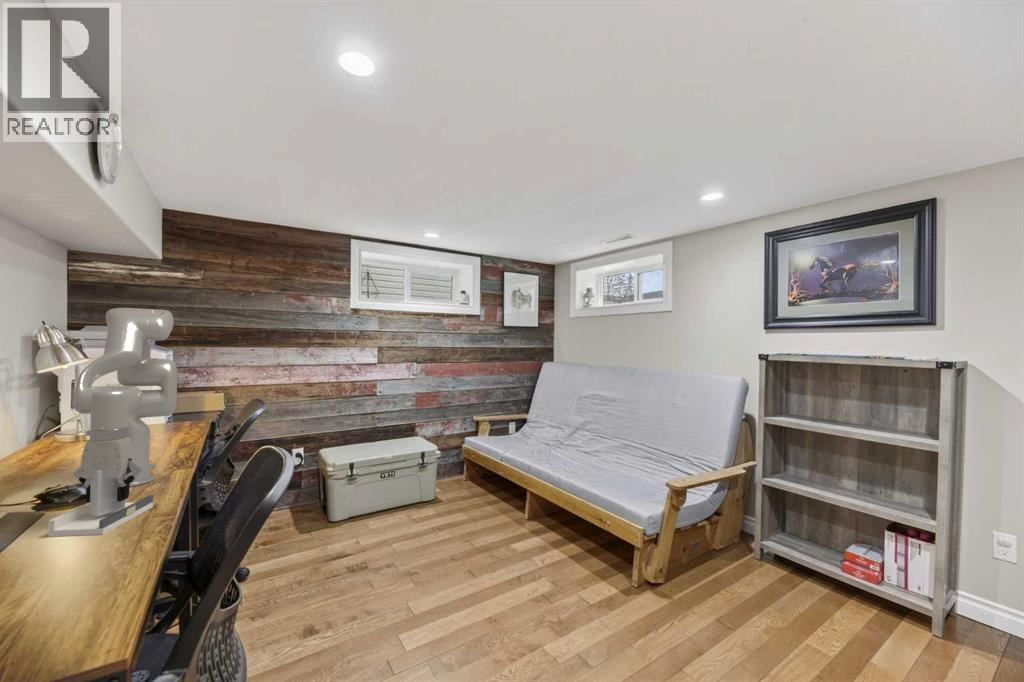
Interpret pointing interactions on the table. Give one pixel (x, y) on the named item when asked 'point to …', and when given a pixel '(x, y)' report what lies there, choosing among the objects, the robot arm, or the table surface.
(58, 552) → the table surface
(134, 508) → the price rail
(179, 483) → the table surface
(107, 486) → the skincare box
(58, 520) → the display shelf
